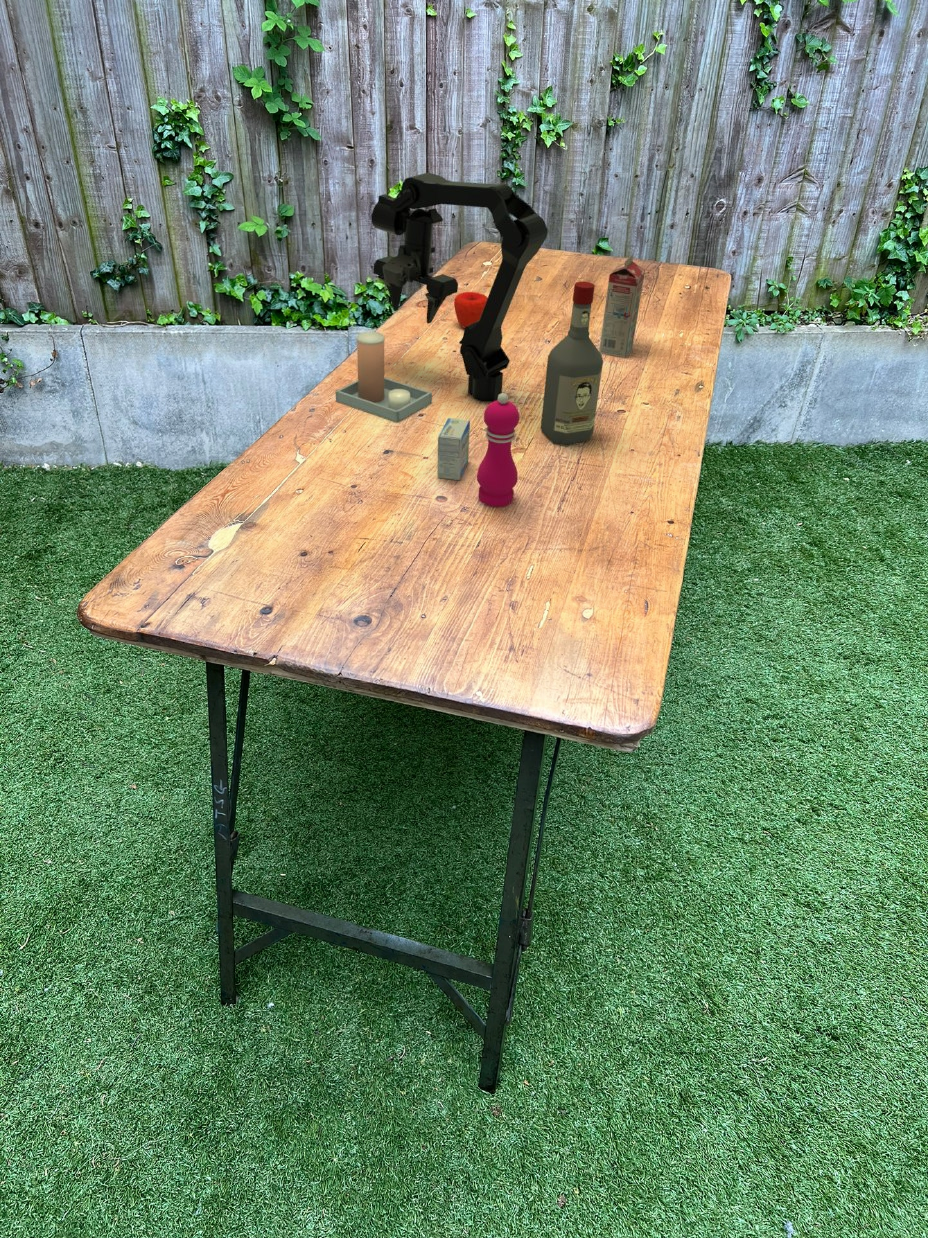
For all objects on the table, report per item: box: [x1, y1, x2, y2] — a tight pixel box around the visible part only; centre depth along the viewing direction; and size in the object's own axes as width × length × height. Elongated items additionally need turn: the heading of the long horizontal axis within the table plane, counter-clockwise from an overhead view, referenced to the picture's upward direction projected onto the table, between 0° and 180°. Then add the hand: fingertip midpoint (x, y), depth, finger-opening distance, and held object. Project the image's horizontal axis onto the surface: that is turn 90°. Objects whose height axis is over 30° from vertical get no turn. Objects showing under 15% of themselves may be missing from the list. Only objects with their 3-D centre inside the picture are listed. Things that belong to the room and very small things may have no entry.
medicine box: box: [436, 417, 471, 481], centre depth 169 cm, size 8×4×9 cm, turn 168°
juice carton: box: [598, 253, 646, 359], centre depth 215 cm, size 7×7×22 cm
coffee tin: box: [356, 331, 386, 403], centre depth 189 cm, size 6×6×13 cm
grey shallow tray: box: [335, 376, 433, 424], centre depth 191 cm, size 16×12×3 cm
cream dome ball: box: [389, 389, 410, 410], centre depth 189 cm, size 4×4×3 cm
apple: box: [453, 291, 488, 329], centre depth 228 cm, size 9×9×8 cm
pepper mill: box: [476, 392, 520, 508], centre depth 158 cm, size 7×7×20 cm
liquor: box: [540, 281, 604, 447], centre depth 176 cm, size 9×9×30 cm
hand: (412, 316), depth 197 cm, fingers open, 9 cm apart
